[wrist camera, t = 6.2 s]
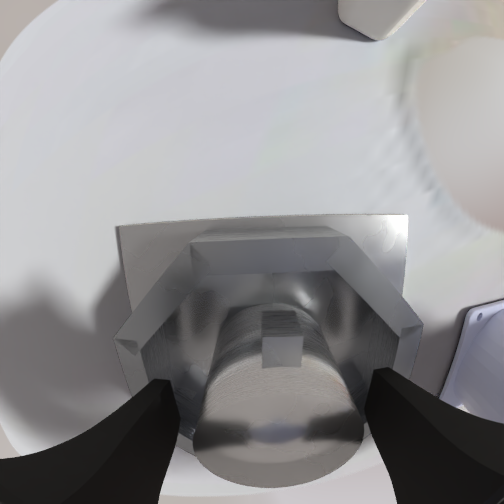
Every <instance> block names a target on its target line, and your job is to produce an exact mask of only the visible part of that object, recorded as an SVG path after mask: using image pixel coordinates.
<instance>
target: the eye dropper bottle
mask: <svg viewBox="0 0 504 504" xmlns="http://www.w3.org/2000/svg"><path fill="white" fill-rule="evenodd" d="M426 1H427V0H338V14H339V18H340V19H341V21H342V22H343V23H345V24H346V25H348V26H349V27H351V28H353V29H355V30H357V31H359V32H361V33H362V34H364V35H366V36H368V37H370V38H371V39H374V40H377V41H378V40H384V39H386V38H388V37H390V36H391V35H392V34H394V33H395V32H396V31H397V30H398V29H399V28H400V27H401V26H402V25H403V24H404V23H405V22H406V21H407V20H408V19H409V18H410V17H411V16H412V15H413V14H414V13H415V12H416V11H417V10H418V9H419V8H420V7H421V6H422V5H423V4H424V3H425V2H426Z"/></svg>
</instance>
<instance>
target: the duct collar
mask: <svg viewBox="0 0 504 504" xmlns="http://www.w3.org/2000/svg"><path fill="white" fill-rule="evenodd" d="M407 232H408V215H404V214H330V215H287V216H259V217H237V218H218V219H200V220H185V221H170V222H157V223H144V224H132V225H122V226H119V233H120V242H121V250H122V258H123V265H124V272H125V278H126V284H127V290H128V295H129V301H130V306H131V311H132V314H131V315H130V316H129V318H128V319H127V320H126V322H125V323H124V324H123V326H122V327H121V328H120V330H119V331H118V332H117V334H116V335H115V336H114V338H113V339H114V343H115V346H116V350H117V353H118V356H119V360H120V363H121V366H122V369H123V372H124V375H125V378H126V381H127V384H128V387H129V390H130V392H131V395H132V397H133V396H134V395H136V394H137V393H138V392H139V391H140V390H141V389H143V388H144V387H145V386H146V385H147V384H148V383H149V382H151V381H152V380H153V379H154V378H155V379H166V380H170V381H171V385H172V389H173V393H174V396H175V400H176V404H177V407H178V410H179V414H180V417H181V420H180V426H179V432H178V437H177V442H176V446H178V447H179V448H181V449H183V450H185V451H187V452H188V453H190V454H192V455H194V456H196V455H195V453H194V450H193V436H194V432H195V428H196V424H197V419H198V415H199V411H200V407H201V403H202V398H203V394H204V390H205V386H206V382H207V378H208V374H209V370H210V365H211V361H212V357H213V353H214V349H215V345H216V341H217V338H218V335H219V333H220V331H221V329H222V328H223V326H224V325H225V324H226V323H227V322H228V321H229V320H230V319H231V318H232V317H233V316H234V315H236V314H237V313H239V312H240V311H242V310H244V309H247V308H249V307H252V306H255V305H260V304H266V303H280V304H286V305H290V306H293V307H296V308H298V309H301V310H302V311H304V312H306V313H307V314H308V315H310V316H311V317H312V318H313V319H314V320H315V321H316V322H317V324H318V325H319V327H320V328H321V331H322V333H323V335H324V337H325V339H326V341H327V343H328V345H329V348H330V350H331V352H332V354H333V356H334V358H335V361H336V363H337V365H338V367H339V369H340V371H341V374H342V376H343V378H344V380H345V383H346V385H347V387H348V389H349V391H350V394H351V396H352V398H353V400H354V403H355V405H356V407H357V409H358V412H359V414H360V416H361V419H362V421H363V424H364V437H363V439H364V438H365V437H367V436H368V435H370V434H371V432H370V429H369V426H368V423H367V419H366V415H365V412H364V406H365V403H366V399H367V395H368V391H369V387H370V383H371V379H372V374H373V370H374V369H380V368H385V367H389V368H391V369H393V370H394V371H396V372H397V373H399V374H401V375H402V376H404V377H405V378H407V379H408V380H409V379H410V376H411V372H412V369H413V365H414V362H415V358H416V354H417V351H418V347H419V343H420V338H421V334H422V329H423V325H424V324H423V322H422V321H421V320H420V318H419V317H418V316H417V315H416V313H415V312H414V311H413V309H412V308H411V307H410V306H409V304H408V303H407V302H406V301H405V300H404V298H403V297H402V292H403V284H404V275H405V264H406V251H407Z"/></svg>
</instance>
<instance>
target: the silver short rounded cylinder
mask: <svg viewBox="0 0 504 504" xmlns="http://www.w3.org/2000/svg"><path fill="white" fill-rule="evenodd" d="M363 437H364V424H363V421H362V419H361V416H360V414H359V412H358V409H357V407H356V405H355V403H354V400H353V398H352V396H351V394H350V391H349V389H348V387H347V385H346V383H345V380H344V378H343V376H342V374H341V371H340V369H339V367H338V365H337V363H336V361H335V358H334V356H333V354H332V352H331V350H330V348H329V345H328V343H327V341H326V339H325V337H324V335H323V333H322V331H321V328H320V327H319V325H318V324H317V322H316V321H315V320H314V319H313V318H312V317H311V316H310V315H308V314H307V313H306V312H304V311H302V310H301V309H298V308H296V307H293V306H290V305H286V304H280V303H266V304H260V305H255V306H252V307H249V308H247V309H244V310H242V311H240V312H239V313H237V314H236V315H234V316H233V317H232V318H231V319H230V320H229V321H228V322H227V323H226V324H225V325H224V326H223V328H222V329H221V331H220V333H219V335H218V338H217V341H216V345H215V349H214V353H213V357H212V361H211V365H210V370H209V374H208V378H207V382H206V386H205V390H204V394H203V398H202V403H201V407H200V411H199V415H198V419H197V424H196V428H195V432H194V436H193V450H194V453H195V455H196V457H197V458H198V460H199V461H200V463H201V464H202V465H203V466H204V467H205V468H207V469H208V470H209V471H210V472H212V473H213V474H215V475H217V476H219V477H221V478H223V479H225V480H228V481H230V482H233V483H237V484H241V485H245V486H251V487H261V488H278V487H288V486H294V485H299V484H303V483H307V482H310V481H313V480H316V479H319V478H321V477H323V476H325V475H328V474H329V473H331V472H333V471H335V470H336V469H338V468H339V467H341V466H342V465H344V464H345V463H346V462H347V461H348V460H349V459H350V458H351V457H352V456H353V455H354V454H355V453H356V451H357V450H358V449H359V447H360V445H361V443H362V440H363Z"/></svg>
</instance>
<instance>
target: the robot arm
mask: <svg viewBox="0 0 504 504" xmlns="http://www.w3.org/2000/svg"><path fill="white" fill-rule="evenodd" d="M462 405H464V406H465V407H466V409H467V410H468V411H469V412H470V413H471V414H470V413H467V412H465V411H462V410H460V409H458V407H460V406H462ZM364 412H365V415H366V419H367V423H368V426H369V429H370V432H371V434H372V437H373V439H374V441H375V443H376V446H377V448H378V450H379V452H380V455H381V457H382V459H383V461H384V464H385V466H386V468H387V470H388V473H389V476H390V478H391V481H392V484H393V488H394V492H395V496H396V500H397V504H504V300H501V301H498V302H494V303H490V304H486V305H483V306H479V307H475V308H472V309H470V310H469V311H468V313H467V315H466V318H465V322H464V326H463V330H462V333H461V337H460V341H459V344H458V347H457V351H456V354H455V357H454V360H453V363H452V366H451V369H450V372H449V374H448V377H447V380H446V382H445V385H444V387H443V390H442V392H441V395H440V397H439V398H437V397H435V396H433V395H432V394H430V393H428V392H427V391H425V390H424V389H422V388H420V387H419V386H417V385H416V384H414V383H413V382H411V381H410V380H408V379H407V378H405V377H404V376H402V375H401V374H399V373H397V372H396V371H394V370H393V369H391V368H389V367H385V368H380V369H374V370H373V374H372V379H371V383H370V387H369V391H368V395H367V399H366V403H365V406H364ZM180 420H181V417H180V414H179V410H178V407H177V404H176V400H175V396H174V393H173V389H172V385H171V381H170V380H166V379H155V378H154V379H153V380H152V381H151V382H149V383H148V384H147V385H146V386H145V387H144V388H143V389H141V390H140V391H139V392H138V393H137V394H136V395H134V396H133V397H132V398H131V399H130V400H128V401H127V402H126V403H125V404H124V405H122V406H121V407H120V408H119V409H117V410H116V411H115V412H113V413H112V414H111V415H109V416H108V417H107V418H105V419H104V420H102V421H101V422H100V423H98V424H97V425H95V426H94V427H92V428H91V429H89V430H87V431H86V432H84V433H82V434H80V435H78V436H76V437H75V438H73V439H71V440H69V441H66V442H64V443H61V444H59V445H57V446H54V447H52V448H49V449H46V450H43V451H40V452H37V453H33V454H29V455H25V456H20V457H15V458H6V459H0V504H158V500H159V495H160V491H161V487H162V484H163V481H164V478H165V475H166V472H167V469H168V466H169V463H170V460H171V457H172V454H173V451H174V448H175V445H176V442H177V437H178V432H179V426H180Z"/></svg>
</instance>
